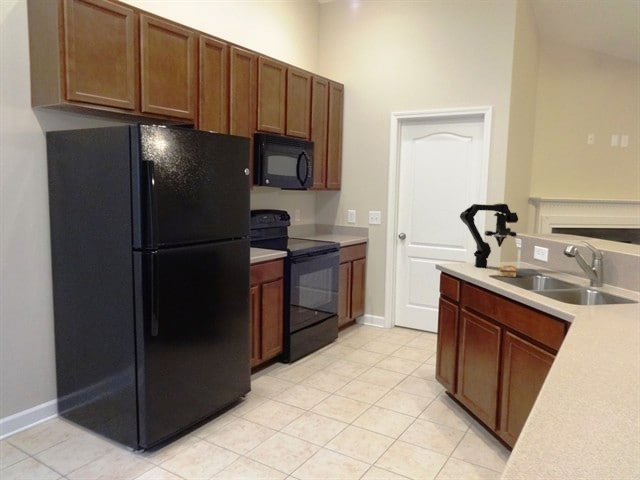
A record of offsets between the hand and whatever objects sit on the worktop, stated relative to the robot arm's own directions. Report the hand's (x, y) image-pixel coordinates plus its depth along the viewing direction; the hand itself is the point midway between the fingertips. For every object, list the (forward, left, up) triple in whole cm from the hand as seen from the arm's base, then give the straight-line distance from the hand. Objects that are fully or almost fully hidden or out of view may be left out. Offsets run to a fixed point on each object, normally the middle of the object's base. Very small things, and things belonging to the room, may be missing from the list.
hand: (499, 246), depth 306 cm
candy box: (+1, -18, -11) cm, 21 cm away
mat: (+12, -16, -13) cm, 24 cm away
